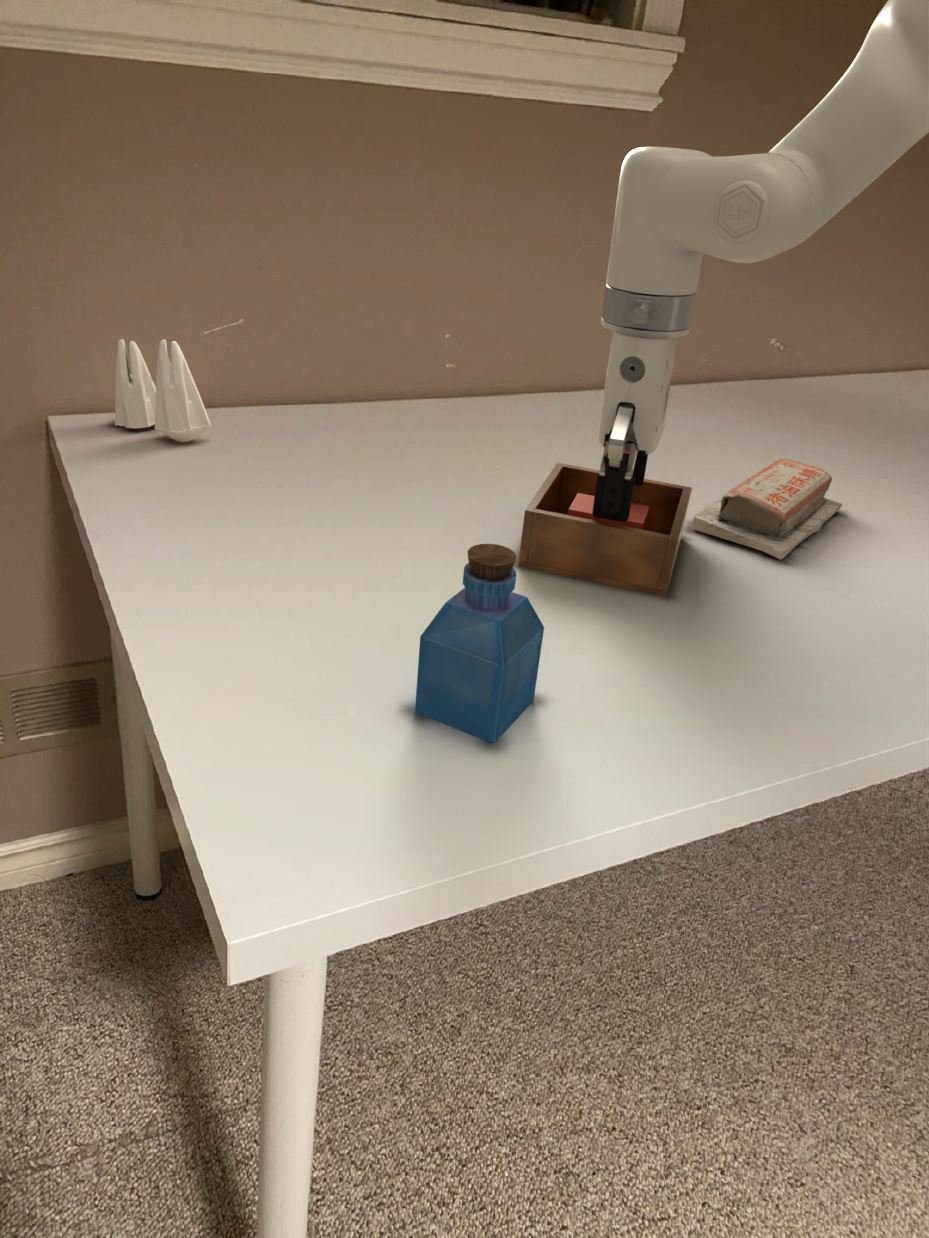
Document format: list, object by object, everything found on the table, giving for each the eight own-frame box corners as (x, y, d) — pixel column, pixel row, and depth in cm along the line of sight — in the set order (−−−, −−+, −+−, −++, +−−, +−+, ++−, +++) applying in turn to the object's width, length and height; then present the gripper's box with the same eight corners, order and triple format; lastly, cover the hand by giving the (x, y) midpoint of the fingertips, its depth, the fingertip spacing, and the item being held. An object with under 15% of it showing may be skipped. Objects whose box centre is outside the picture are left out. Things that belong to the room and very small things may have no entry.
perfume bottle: (493, 744, 63) (513, 586, 57) (414, 713, 65) (425, 557, 60) (533, 701, 68) (555, 551, 62) (458, 673, 70) (472, 526, 64)
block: (642, 544, 92) (649, 506, 90) (635, 562, 88) (643, 523, 86) (571, 530, 94) (577, 492, 92) (562, 548, 90) (568, 509, 88)
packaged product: (765, 447, 108) (852, 472, 103) (755, 487, 110) (839, 513, 105) (698, 487, 95) (794, 517, 90) (688, 531, 97) (781, 563, 92)
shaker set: (214, 441, 108) (210, 344, 103) (187, 451, 105) (181, 350, 100) (139, 417, 113) (131, 323, 108) (112, 425, 110) (102, 329, 105)
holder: (680, 539, 95) (692, 487, 93) (665, 597, 84) (677, 540, 81) (549, 513, 98) (557, 462, 96) (517, 566, 87) (524, 510, 84)
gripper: (681, 336, 72) (646, 542, 80) (700, 299, 86) (669, 477, 95) (584, 324, 73) (559, 527, 82) (619, 290, 88) (595, 465, 96)
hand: (618, 500), depth 88 cm, fingers open, 9 cm apart
